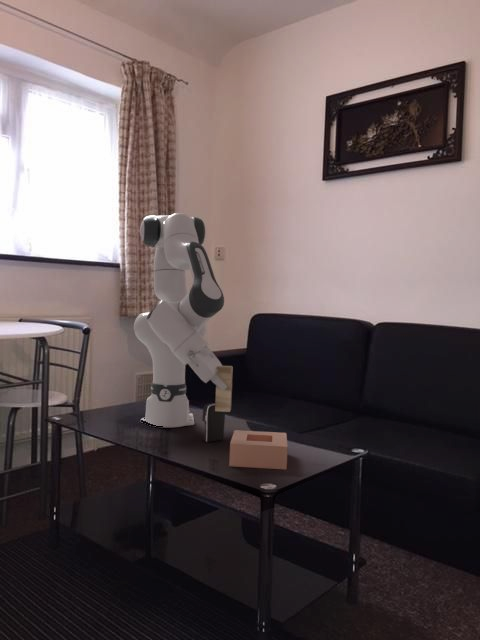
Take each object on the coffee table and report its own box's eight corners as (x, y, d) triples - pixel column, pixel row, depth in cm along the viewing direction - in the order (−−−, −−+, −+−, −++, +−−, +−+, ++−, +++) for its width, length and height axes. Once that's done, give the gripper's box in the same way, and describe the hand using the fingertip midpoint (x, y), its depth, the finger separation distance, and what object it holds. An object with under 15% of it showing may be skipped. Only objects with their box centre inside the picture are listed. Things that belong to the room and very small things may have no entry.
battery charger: (216, 437, 171) (217, 401, 170) (224, 439, 168) (226, 403, 167) (199, 440, 166) (201, 403, 165) (207, 443, 163) (209, 405, 163)
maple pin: (216, 408, 150) (218, 365, 149) (231, 409, 149) (232, 366, 149) (215, 411, 146) (216, 367, 145) (229, 411, 145) (231, 367, 145)
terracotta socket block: (233, 450, 156) (234, 430, 156) (285, 453, 155) (286, 432, 155) (229, 466, 141) (230, 443, 141) (286, 469, 140) (287, 446, 140)
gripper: (194, 345, 137) (231, 384, 137) (205, 340, 158) (237, 374, 157) (176, 361, 138) (213, 401, 137) (190, 354, 158) (222, 389, 158)
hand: (226, 387), depth 147 cm, fingers closed on maple pin, 4 cm apart
